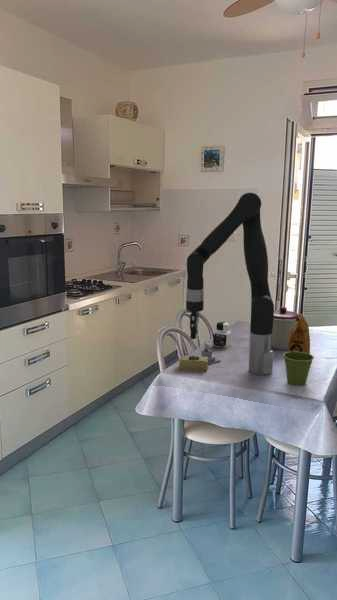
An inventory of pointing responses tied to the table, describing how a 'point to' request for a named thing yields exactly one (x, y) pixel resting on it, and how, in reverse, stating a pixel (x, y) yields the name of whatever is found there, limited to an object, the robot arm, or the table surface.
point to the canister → (282, 328)
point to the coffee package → (299, 336)
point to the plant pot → (297, 367)
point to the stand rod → (193, 357)
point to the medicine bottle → (222, 335)
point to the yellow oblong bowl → (193, 363)
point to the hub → (208, 354)
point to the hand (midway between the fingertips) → (194, 336)
